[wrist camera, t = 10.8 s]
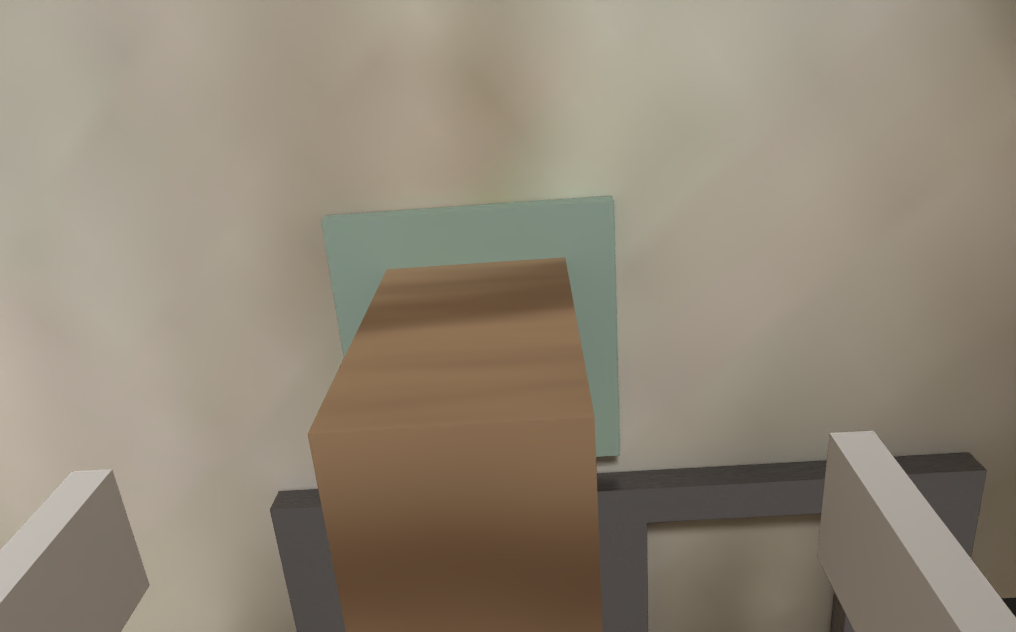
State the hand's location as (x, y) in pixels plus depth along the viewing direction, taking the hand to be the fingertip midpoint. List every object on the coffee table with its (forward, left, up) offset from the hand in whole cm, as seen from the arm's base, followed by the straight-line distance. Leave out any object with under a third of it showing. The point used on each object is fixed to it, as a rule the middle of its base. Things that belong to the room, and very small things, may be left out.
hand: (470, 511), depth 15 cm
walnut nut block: (0, 0, -9) cm, 9 cm away
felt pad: (0, 0, -9) cm, 9 cm away
